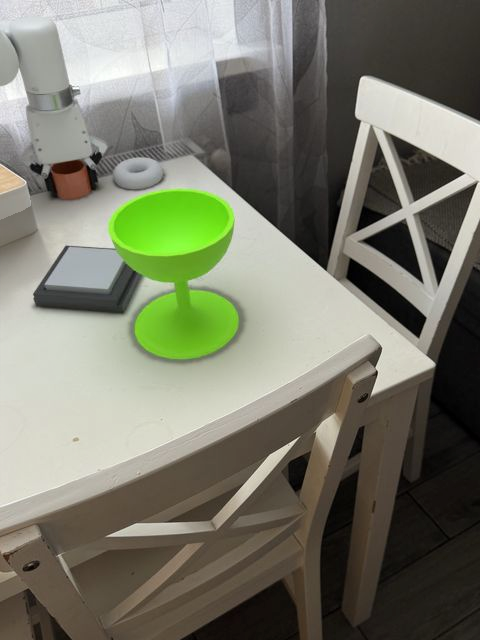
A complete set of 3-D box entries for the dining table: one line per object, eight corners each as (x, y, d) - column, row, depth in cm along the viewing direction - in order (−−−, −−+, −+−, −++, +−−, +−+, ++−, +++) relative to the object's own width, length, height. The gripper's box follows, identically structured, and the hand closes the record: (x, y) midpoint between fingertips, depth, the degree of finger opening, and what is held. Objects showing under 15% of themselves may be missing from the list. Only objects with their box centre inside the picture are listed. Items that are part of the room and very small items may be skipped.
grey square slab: (47, 292, 90) (44, 284, 89) (71, 254, 97) (69, 246, 96) (110, 297, 89) (108, 289, 88) (130, 258, 96) (128, 250, 95)
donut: (126, 168, 125) (106, 190, 118) (123, 152, 122) (102, 174, 115) (171, 172, 123) (153, 195, 116) (169, 156, 121) (151, 179, 113)
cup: (51, 200, 115) (43, 174, 111) (64, 183, 120) (57, 157, 116) (84, 202, 114) (78, 176, 110) (97, 185, 119) (91, 159, 115)
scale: (35, 311, 91) (29, 293, 89) (67, 262, 100) (62, 245, 98) (123, 318, 90) (119, 300, 87) (147, 267, 99) (144, 250, 96)
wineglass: (172, 281, 96) (155, 179, 83) (260, 309, 90) (256, 204, 78) (110, 342, 86) (81, 236, 73) (205, 378, 80) (190, 270, 68)
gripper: (96, 83, 109) (113, 173, 121) (-3, 97, 105) (26, 189, 117) (103, 97, 104) (121, 190, 116) (0, 113, 99) (30, 207, 112)
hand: (73, 189), depth 116 cm, fingers closed on cup, 7 cm apart
